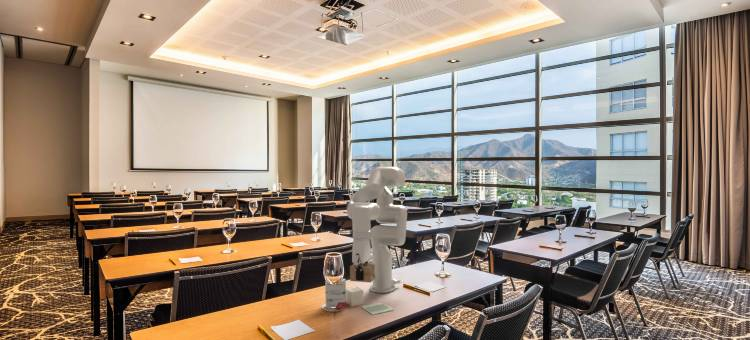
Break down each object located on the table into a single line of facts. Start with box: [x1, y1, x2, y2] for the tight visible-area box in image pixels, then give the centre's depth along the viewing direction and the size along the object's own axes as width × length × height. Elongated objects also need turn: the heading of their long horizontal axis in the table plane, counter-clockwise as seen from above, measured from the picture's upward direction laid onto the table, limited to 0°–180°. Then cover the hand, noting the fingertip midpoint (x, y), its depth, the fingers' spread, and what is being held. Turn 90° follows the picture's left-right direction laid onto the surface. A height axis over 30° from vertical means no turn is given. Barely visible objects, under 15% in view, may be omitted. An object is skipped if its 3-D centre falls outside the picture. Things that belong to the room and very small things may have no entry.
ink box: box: [324, 278, 347, 309], centre depth 174 cm, size 8×5×12 cm, turn 89°
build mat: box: [361, 302, 394, 316], centre depth 170 cm, size 10×10×1 cm
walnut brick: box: [349, 263, 375, 283], centre depth 166 cm, size 6×9×6 cm, turn 73°
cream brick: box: [346, 286, 365, 307], centre depth 178 cm, size 6×6×6 cm
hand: (362, 277), depth 166 cm, fingers closed on walnut brick, 6 cm apart
